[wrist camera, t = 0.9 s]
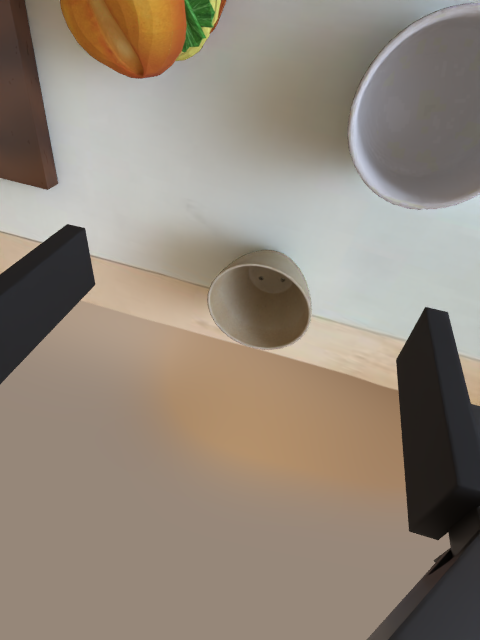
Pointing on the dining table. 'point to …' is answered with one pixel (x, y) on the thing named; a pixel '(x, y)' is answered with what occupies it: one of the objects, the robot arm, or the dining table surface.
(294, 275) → the bowl
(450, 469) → the robot arm
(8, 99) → the serving board
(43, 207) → the dining table surface
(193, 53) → the cheeseburger
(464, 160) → the teacup
